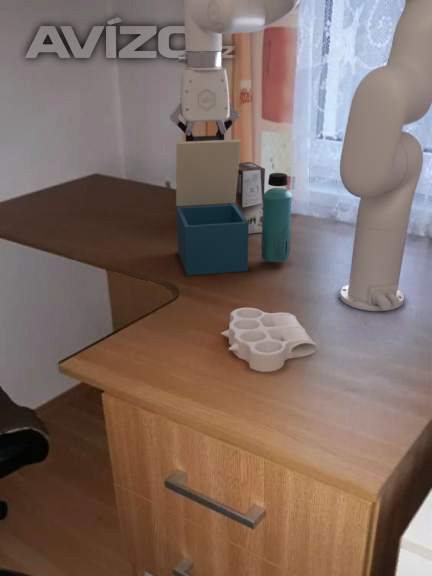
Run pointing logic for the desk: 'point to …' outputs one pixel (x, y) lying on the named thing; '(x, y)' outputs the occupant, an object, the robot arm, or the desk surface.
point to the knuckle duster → (267, 338)
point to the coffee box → (251, 194)
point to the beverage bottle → (276, 220)
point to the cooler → (212, 239)
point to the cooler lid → (207, 171)
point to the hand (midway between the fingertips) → (205, 152)
